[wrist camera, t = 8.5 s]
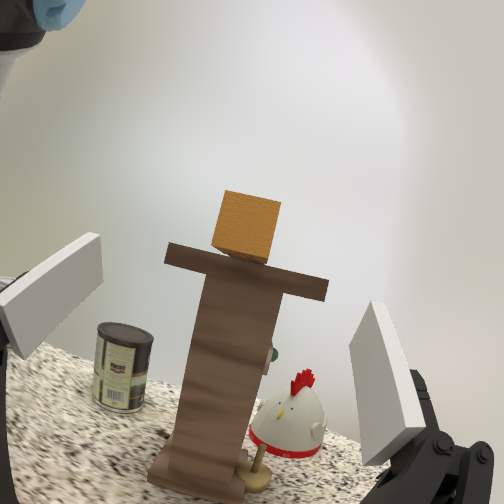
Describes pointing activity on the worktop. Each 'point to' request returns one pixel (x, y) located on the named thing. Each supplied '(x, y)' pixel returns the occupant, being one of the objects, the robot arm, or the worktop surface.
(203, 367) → the stand
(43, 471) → the worktop surface
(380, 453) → the robot arm
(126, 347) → the coffee can
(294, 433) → the kitchen timer
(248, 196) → the long square bar
